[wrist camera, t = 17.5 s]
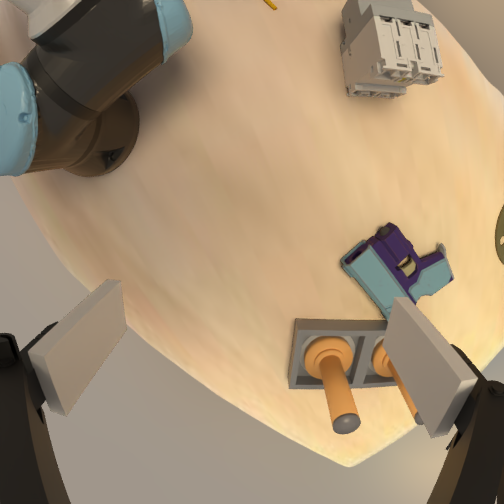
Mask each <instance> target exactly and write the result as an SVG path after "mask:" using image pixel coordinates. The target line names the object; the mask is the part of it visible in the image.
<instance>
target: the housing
mask: <svg viewBox="0 0 504 504" xmlns="http://www.w3.org/2000/svg"><path fill="white" fill-rule="evenodd" d="M387 325H388V321H387V320H326V319H296V321H295V329H294V336H293V344H292V351H291V358H290V365H289V372H288V384H289V389H324V385H323V381H322V379H317V378H315V377H313V376H311V375H310V374H309V373H308V372H307V370H306V368H305V363H304V351H305V349H306V347H307V346H308V344H309V343H310V342H311V341H313V340H314V339H315V338H317V337H320V336H341V337H343V338H344V339H346V340H347V342H348V343H349V345H350V348H351V350H352V353H353V360H352V364H351V366H350V367H349V369H348V370H347V371H346V372H345V375H346V378H347V381H348V384H349V387H350V389H351V388H371V387H386V386H397V384H396V382H395V380H394V378H393V377H383V376H381V375H379V374H378V373H377V372H376V371H375V369H374V366H373V364H372V362H371V356H372V352H373V349H374V347H375V346H376V345H377V343H378V342H379V341H381V340H382V339H383V338H384V337H385V333H386V329H387Z"/></svg>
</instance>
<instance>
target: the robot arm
mask: <svg viewBox="0 0 504 504" xmlns="http://www.w3.org/2000/svg"><path fill="white" fill-rule="evenodd" d="M8 1H9V2H11V3H12V4H13V5H15V6H16V7H17V8H19V9H20V10H21V11H23V12H24V13H25V14H27V17H28V37H29V38H30V39H31V40H32V41H34V42H35V43H36V44H37V45H36V46H35V47H34V48H33V49H32V50H31V52H30V53H29V54H28V55H27V56H26V57H25V59H24V60H23V61H22V62H21V63H20V64H19V63H17V62H10V63H6V64H4V65H3V66H0V176H6V175H11V176H20V175H22V174H25V173H31V172H38V171H45V170H52V169H60V168H63V169H65V170H67V171H69V172H71V173H73V174H75V175H78V176H84V177H92V176H99V175H103V174H106V173H109V172H111V171H112V170H114V169H116V168H117V167H118V166H119V165H121V164H122V163H123V162H124V160H125V159H126V158H127V157H128V155H129V154H130V152H131V151H132V149H133V147H134V144H135V142H136V139H137V135H138V130H139V113H138V109H137V106H136V103H135V101H134V99H133V97H132V96H131V94H130V93H129V92H128V91H127V90H129V89H130V88H131V87H132V86H133V85H134V84H136V83H137V82H138V81H139V80H141V79H142V78H143V77H144V76H145V75H147V74H148V73H149V72H151V71H152V70H153V69H154V68H156V67H157V66H158V65H160V64H161V65H163V64H164V63H165V62H166V61H167V60H168V58H169V57H170V56H171V55H173V54H174V53H175V52H177V51H178V50H179V49H181V48H182V47H183V46H185V45H186V44H187V43H188V42H189V40H190V39H191V36H192V33H193V25H192V20H191V17H190V15H189V12H188V10H187V7H186V5H185V3H184V1H183V0H8ZM126 330H127V327H126V320H125V312H124V304H123V296H122V287H121V281H118V280H109V279H107V280H106V281H105V282H104V283H102V284H101V285H100V286H99V287H98V288H97V289H95V290H94V291H93V292H92V293H91V294H90V295H89V296H87V297H86V298H85V299H84V300H83V301H82V302H81V303H80V304H78V305H77V306H76V307H75V308H74V309H73V310H72V311H71V312H69V314H67V315H66V316H65V317H64V318H63V319H62V320H61V321H60V322H55V323H53V324H51V325H49V326H47V327H46V328H45V329H44V330H43V331H42V332H41V334H38V335H37V336H36V337H35V339H33V340H32V341H31V342H30V343H29V344H28V345H27V346H25V348H23V349H22V350H21V351H19V348H18V346H17V342H16V340H15V336H13V335H12V334H9V333H0V504H71V502H70V500H69V498H68V495H67V492H66V489H65V486H64V483H63V480H62V478H61V474H60V472H59V468H58V465H57V462H56V459H55V455H54V451H53V448H52V444H51V440H50V437H49V432H48V428H47V424H46V419H45V415H44V411H43V409H42V407H41V405H42V404H43V403H44V401H45V400H46V401H47V404H48V406H49V408H50V411H52V412H55V413H57V414H60V415H63V416H67V415H68V414H69V412H70V411H71V409H72V407H73V406H74V405H75V403H76V402H77V400H78V399H79V397H80V396H81V394H82V393H83V391H84V390H85V388H86V387H87V386H88V384H89V383H90V381H91V380H92V378H93V377H94V376H95V374H96V372H97V371H98V370H99V368H100V367H101V366H102V364H103V363H104V361H105V360H106V358H107V357H108V356H109V354H110V353H111V351H112V350H113V349H114V347H115V346H116V344H117V343H118V342H119V340H120V339H121V338H122V336H123V335H124V333H125V332H126ZM382 346H383V348H384V350H385V351H386V353H387V355H388V357H389V359H390V360H391V362H392V364H393V366H394V368H395V369H396V371H397V373H398V375H399V377H400V379H401V380H402V382H403V384H404V386H405V388H406V390H407V392H408V394H409V396H410V397H411V399H412V401H413V403H414V405H415V407H416V409H417V411H418V413H419V415H420V417H421V419H422V421H423V423H424V425H425V427H426V429H427V431H428V433H429V435H430V437H431V438H435V437H439V436H444V435H447V434H448V433H449V431H450V429H451V427H452V426H453V424H455V425H456V427H457V429H458V431H457V432H456V434H455V435H454V437H453V439H452V440H451V442H450V443H449V445H448V446H447V448H446V450H448V449H449V448H450V449H449V452H448V455H447V457H446V460H445V462H444V465H443V468H442V470H441V472H440V475H439V477H438V480H437V482H436V484H435V486H434V489H433V491H432V493H431V495H430V498H429V499H428V502H427V504H495V500H496V496H497V504H504V384H502V383H500V382H498V381H493V380H491V381H487V380H486V379H485V377H484V376H483V375H482V374H481V372H480V371H479V370H478V369H477V368H476V366H475V365H474V364H472V362H471V361H470V359H469V358H467V356H466V355H465V354H464V352H463V351H462V350H461V349H459V348H458V347H456V346H455V345H453V344H449V343H448V341H447V340H446V339H445V338H444V337H443V336H442V335H441V333H440V332H439V331H438V330H437V329H436V328H435V327H434V325H433V324H432V323H431V322H430V321H429V320H428V319H427V318H426V316H425V315H424V314H423V313H422V312H421V311H420V310H419V309H418V308H417V307H416V306H415V304H414V303H413V302H412V301H411V300H410V299H409V298H408V297H394V301H393V305H392V309H391V313H390V318H389V321H388V325H387V329H386V333H385V337H384V340H383V344H382Z"/></svg>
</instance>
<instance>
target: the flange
mask: <svg viewBox="0 0 504 504" xmlns="http://www.w3.org/2000/svg"><path fill="white" fill-rule="evenodd" d="M502 236H504V205H503V207H502V209H501V211H500V214H499V217H498V220H497V224H496V230H495V246H496V251H497V255H498V257H499V259H500V261H501V262H502V263H503V264H504V243H503V244H502V245H501V244H500V239H501V237H502Z"/></svg>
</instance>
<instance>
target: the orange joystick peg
mask: <svg viewBox="0 0 504 504" xmlns="http://www.w3.org/2000/svg"><path fill="white" fill-rule="evenodd" d="M352 360H353V353H352V350H351V348H350V345H349V343H348V342H347V340H346V339H344V338H343V337H341V336H320V337H317V338H315V339H314V340H313V341H311V342H310V343H309V344H308V346H307V347H306V349H305V351H304V363H305V368H306V370H307V372H308V373H309V374H310V375H311V376H313V377H315V378H317V379H322V381H323V385H324V390H325V394H326V398H327V403H328V407H329V412H330V417H331V421H332V426H333V430H334V432H336V433H338V434H348V433H351V432H353V431H355V430H356V429H357V428H358V427H359V426H360V424H361V421H360V418H359V415H358V411H357V408H356V405H355V402H354V399H353V396H352V393H351V390H350V387H349V384H348V381H347V378H346V375H345V372H346V371H347V370H348V369H349V367H350V366H351V364H352Z"/></svg>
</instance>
